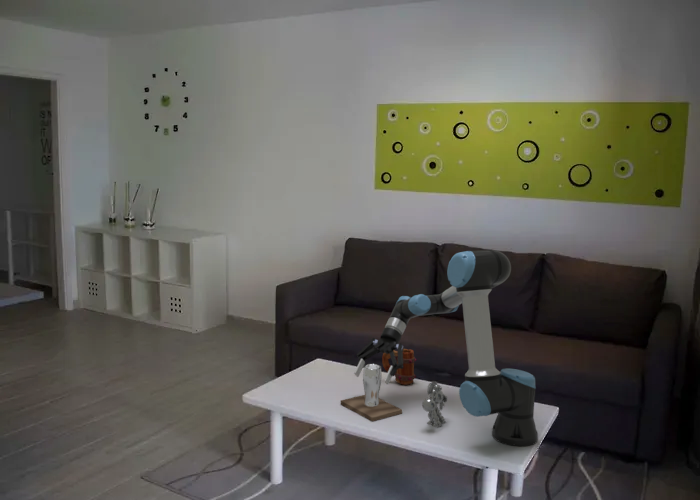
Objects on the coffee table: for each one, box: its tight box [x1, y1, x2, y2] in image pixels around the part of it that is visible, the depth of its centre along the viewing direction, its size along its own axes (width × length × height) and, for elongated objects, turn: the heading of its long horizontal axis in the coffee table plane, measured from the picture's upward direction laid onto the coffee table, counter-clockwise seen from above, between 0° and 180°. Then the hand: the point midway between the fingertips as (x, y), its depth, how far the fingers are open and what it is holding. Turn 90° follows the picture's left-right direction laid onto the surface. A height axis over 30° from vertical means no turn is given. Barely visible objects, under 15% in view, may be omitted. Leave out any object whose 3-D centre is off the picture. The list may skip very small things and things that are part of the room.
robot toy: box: [421, 380, 448, 428], centre depth 228 cm, size 15×6×15 cm, turn 148°
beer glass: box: [362, 363, 382, 408], centre depth 241 cm, size 7×7×15 cm
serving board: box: [340, 394, 403, 422], centre depth 242 cm, size 20×14×2 cm
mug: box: [381, 348, 417, 386], centre depth 271 cm, size 15×8×15 cm, turn 84°
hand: (370, 378), depth 241 cm, fingers open, 13 cm apart
